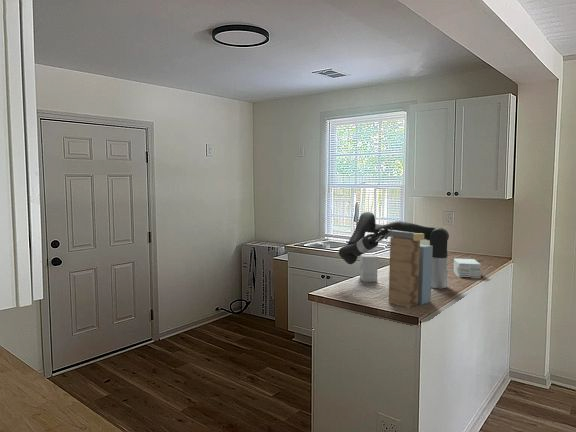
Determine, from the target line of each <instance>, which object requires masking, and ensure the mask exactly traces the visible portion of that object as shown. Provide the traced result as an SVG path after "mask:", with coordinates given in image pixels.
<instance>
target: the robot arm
mask: <svg viewBox="0 0 576 432" xmlns="http://www.w3.org/2000/svg"><path fill="white" fill-rule="evenodd" d="M379 229H384V230H382V231H379ZM388 230H397V231H405V232H413V233H424V240H427V241H429V245H430V246H433V253H432V279H431V289H437V288H438V290H439V289H441V290H442V289H443V288H444V289H446V288H447V287H448V271H449V270H448V255H449V254H448V240H449V238H450V234H449V231H447V229H445V228H443V227H432V226H431V227H430V226H424V225H419V224H416V223H411V222H407V221H401V220H396V221H391V222H389V223H385V224H379V223H376V215H375V214H374V213H373V212H371V211H364V212H362V213H361V214H360V216H359V219H358V222H357V223H356V227H355V230H354V232H353V233H352V235H351V237H350V238H349V240H348V242H347V244H346V245H343V246H342V247H340V248H339V250H338V256H339V257H340V258H341V259H342V260H343V261H344V262H345V263H347V264H348V265H353V264H355V263H356V262H357V259H358V257H360V255H365V253H368V252H370V251H372V250H374V249H375V248H376V247H378V245H379V242H381V241H383V240H387V239H388V238H389V236H383V235H385V234H386V233H388ZM366 233H368V234H367V235H366Z"/></svg>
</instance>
